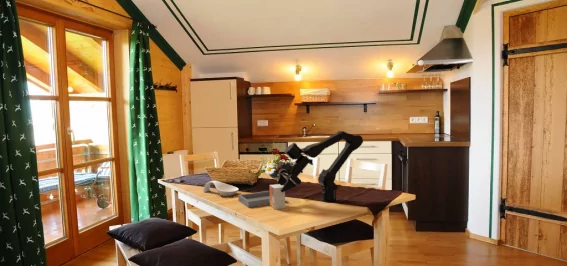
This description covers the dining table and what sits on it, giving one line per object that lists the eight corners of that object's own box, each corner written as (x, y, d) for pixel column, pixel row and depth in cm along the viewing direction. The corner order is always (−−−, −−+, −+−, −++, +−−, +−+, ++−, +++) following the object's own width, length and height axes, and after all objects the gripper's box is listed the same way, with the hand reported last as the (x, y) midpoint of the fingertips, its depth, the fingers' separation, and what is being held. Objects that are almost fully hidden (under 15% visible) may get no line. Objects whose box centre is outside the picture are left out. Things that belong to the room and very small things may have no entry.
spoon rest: (242, 194, 215) (242, 181, 215) (229, 198, 206) (228, 185, 205) (212, 189, 228) (212, 178, 228) (198, 194, 219) (197, 181, 218)
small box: (269, 205, 188) (269, 184, 188) (280, 204, 190) (279, 183, 189) (274, 209, 181) (273, 188, 180) (285, 208, 183) (284, 186, 182)
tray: (273, 195, 208) (272, 190, 208) (285, 202, 194) (285, 196, 194) (238, 200, 200) (238, 194, 200) (248, 207, 186) (248, 201, 185)
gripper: (281, 153, 194) (261, 176, 192) (294, 157, 177) (272, 183, 174) (296, 167, 197) (276, 189, 195) (310, 172, 180) (289, 198, 177)
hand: (278, 189), depth 185 cm, fingers open, 9 cm apart
